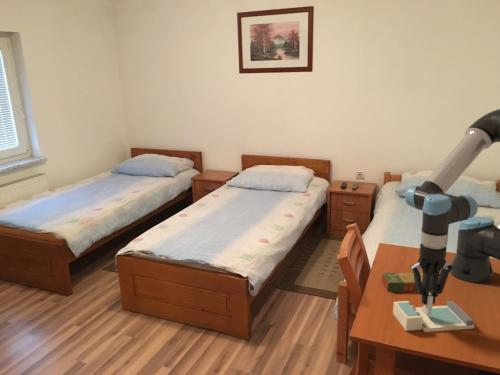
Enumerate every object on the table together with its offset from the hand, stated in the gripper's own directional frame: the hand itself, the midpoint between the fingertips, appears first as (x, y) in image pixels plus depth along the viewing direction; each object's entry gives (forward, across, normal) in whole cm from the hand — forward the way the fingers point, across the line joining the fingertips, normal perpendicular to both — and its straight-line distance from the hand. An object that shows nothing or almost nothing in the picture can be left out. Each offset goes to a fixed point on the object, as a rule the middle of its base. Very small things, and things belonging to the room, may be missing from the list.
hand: (427, 312), depth 138 cm
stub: (+3, +7, 0) cm, 7 cm away
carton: (+4, -3, -23) cm, 24 cm away
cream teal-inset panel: (+3, -4, 0) cm, 5 cm away
